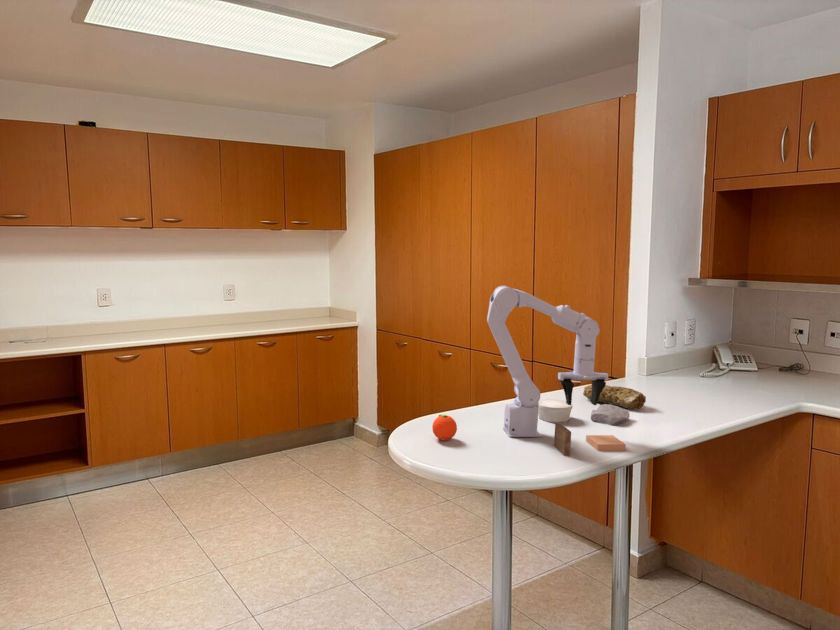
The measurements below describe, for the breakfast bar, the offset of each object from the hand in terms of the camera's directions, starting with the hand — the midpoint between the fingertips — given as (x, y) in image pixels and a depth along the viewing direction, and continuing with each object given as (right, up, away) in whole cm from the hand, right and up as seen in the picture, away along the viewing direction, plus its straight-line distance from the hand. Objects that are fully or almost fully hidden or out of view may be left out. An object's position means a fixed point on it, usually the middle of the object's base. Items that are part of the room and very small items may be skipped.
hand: (581, 404), depth 178 cm
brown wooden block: (-9, -11, -13) cm, 19 cm away
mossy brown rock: (+21, -6, +39) cm, 45 cm away
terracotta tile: (+1, -10, -8) cm, 13 cm away
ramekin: (-4, -8, +18) cm, 20 cm away
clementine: (-41, -9, -7) cm, 42 cm away
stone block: (+15, -8, +18) cm, 25 cm away
